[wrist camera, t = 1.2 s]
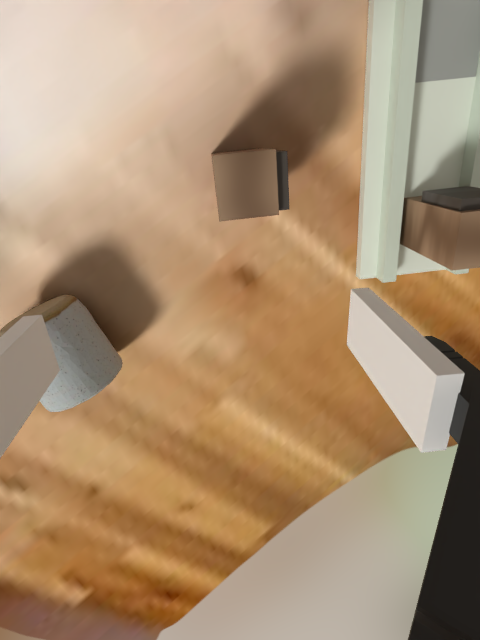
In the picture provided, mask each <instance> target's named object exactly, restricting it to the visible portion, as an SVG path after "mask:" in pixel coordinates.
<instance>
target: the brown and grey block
mask: <svg viewBox="0 0 480 640" xmlns="http://www.w3.org/2000/svg"><path fill="white" fill-rule="evenodd" d="M212 162H213V171H214V179H215V188H216V196H217V205H218V213H219V221H227V220H236V219H245V218H254V217H264V216H273V215H279V210H287V209H289V187H288V158H287V151H277V150H276V149H262V148H259V149H250V150H240V151H231V152H221V153H212Z"/></svg>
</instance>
